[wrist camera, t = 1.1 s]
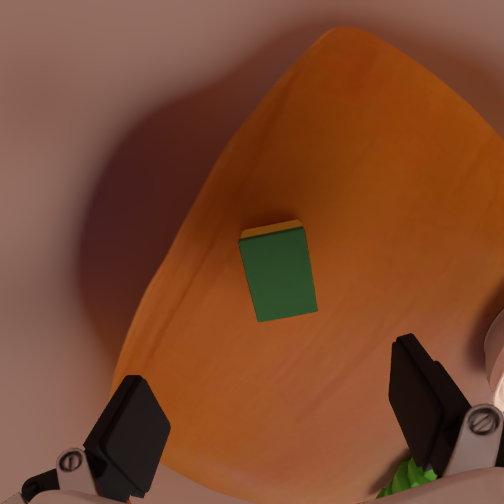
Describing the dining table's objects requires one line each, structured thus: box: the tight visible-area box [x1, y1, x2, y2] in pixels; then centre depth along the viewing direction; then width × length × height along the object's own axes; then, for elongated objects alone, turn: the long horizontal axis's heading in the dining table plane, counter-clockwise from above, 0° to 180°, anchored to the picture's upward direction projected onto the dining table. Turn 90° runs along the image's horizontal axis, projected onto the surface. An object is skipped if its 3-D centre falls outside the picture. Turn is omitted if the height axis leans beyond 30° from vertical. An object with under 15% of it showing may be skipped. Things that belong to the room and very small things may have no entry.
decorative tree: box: [376, 457, 437, 499], centre depth 30 cm, size 11×12×30 cm
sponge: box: [238, 219, 318, 322], centre depth 24 cm, size 7×5×4 cm
